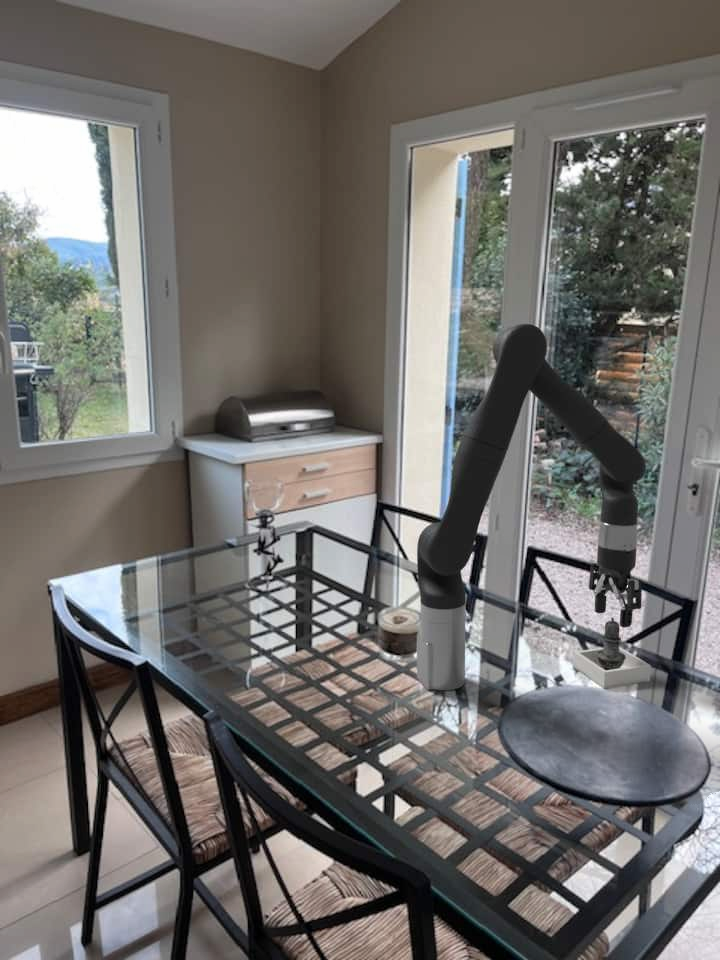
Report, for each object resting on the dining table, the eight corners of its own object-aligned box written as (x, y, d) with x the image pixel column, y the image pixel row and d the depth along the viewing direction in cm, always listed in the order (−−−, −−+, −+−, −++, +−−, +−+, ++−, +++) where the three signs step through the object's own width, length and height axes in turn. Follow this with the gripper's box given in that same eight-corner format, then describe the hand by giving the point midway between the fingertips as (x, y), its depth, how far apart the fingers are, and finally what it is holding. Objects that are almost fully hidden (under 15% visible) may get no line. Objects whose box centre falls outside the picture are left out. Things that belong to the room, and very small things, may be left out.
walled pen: (603, 688, 145) (604, 672, 145) (573, 667, 156) (573, 651, 155) (649, 681, 148) (650, 665, 148) (616, 660, 159) (617, 645, 158)
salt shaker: (627, 678, 148) (629, 623, 146) (597, 676, 150) (599, 621, 148) (622, 666, 154) (625, 613, 152) (594, 664, 155) (596, 611, 153)
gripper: (581, 537, 153) (577, 610, 155) (623, 554, 139) (618, 633, 142) (611, 534, 155) (607, 606, 158) (656, 551, 141) (650, 629, 144)
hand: (612, 619), depth 150 cm, fingers open, 8 cm apart
